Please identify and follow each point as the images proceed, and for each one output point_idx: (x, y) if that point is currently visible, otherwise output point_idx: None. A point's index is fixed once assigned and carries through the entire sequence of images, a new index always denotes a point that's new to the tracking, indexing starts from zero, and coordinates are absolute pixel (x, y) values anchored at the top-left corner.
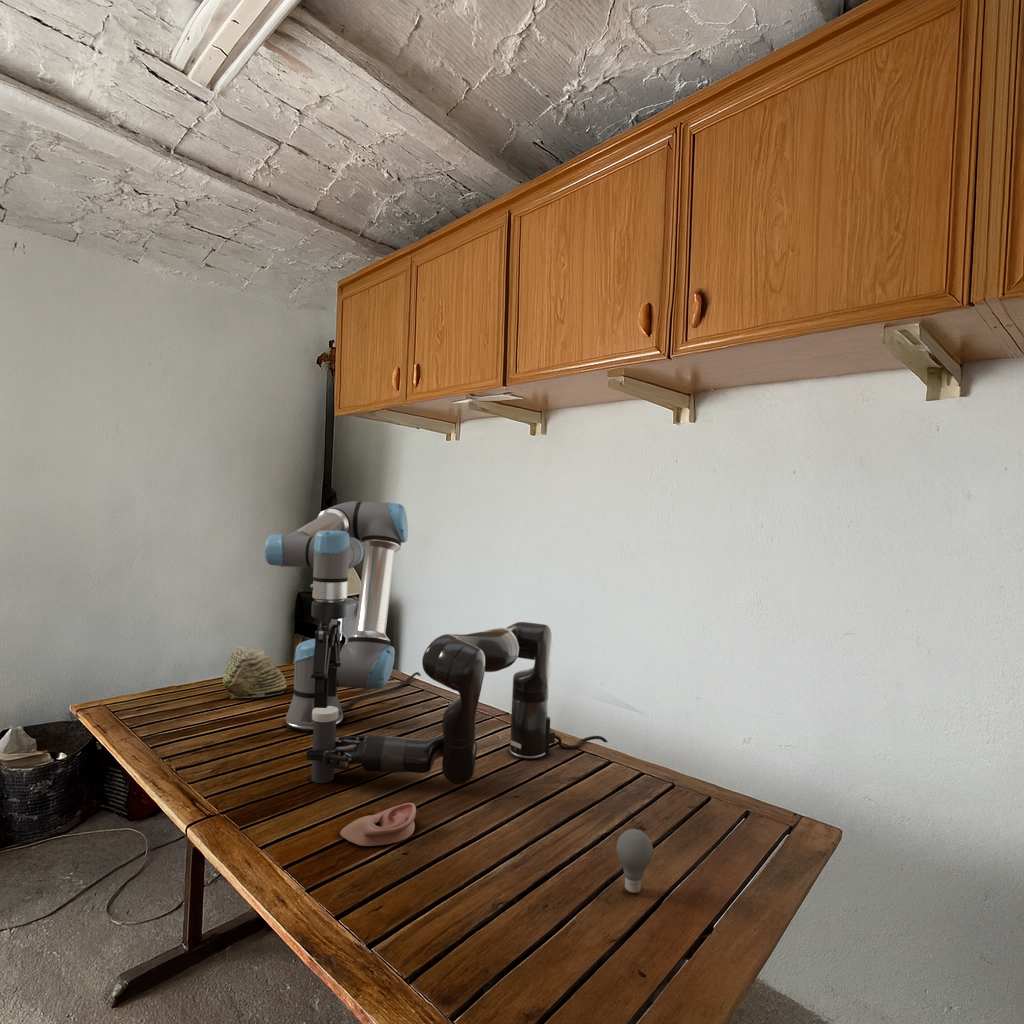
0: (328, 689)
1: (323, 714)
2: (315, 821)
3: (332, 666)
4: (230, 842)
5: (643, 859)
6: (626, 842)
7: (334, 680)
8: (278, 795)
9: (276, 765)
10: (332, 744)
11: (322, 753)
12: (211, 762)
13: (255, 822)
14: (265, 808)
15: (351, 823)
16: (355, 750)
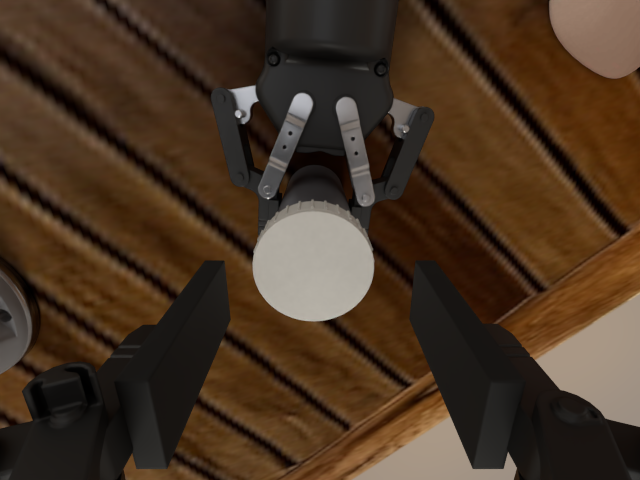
0: (217, 319)
1: (372, 263)
2: (536, 154)
3: (120, 428)
4: (588, 291)
5: None
6: None
7: (192, 322)
8: (404, 266)
9: (251, 314)
10: (332, 189)
11: (365, 208)
12: (254, 428)
13: (519, 273)
14: (462, 273)
15: (609, 51)
16: (353, 98)
